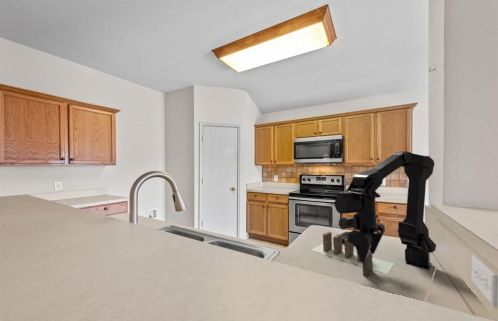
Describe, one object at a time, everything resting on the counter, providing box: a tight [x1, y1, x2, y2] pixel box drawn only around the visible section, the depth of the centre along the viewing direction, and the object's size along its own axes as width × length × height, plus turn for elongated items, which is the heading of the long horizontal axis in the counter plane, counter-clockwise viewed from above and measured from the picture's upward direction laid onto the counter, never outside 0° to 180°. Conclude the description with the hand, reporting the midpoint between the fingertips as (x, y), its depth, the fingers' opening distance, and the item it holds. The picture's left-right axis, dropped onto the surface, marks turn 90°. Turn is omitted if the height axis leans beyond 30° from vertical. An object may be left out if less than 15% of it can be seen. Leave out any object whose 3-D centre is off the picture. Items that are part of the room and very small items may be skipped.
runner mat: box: [311, 243, 395, 275], centre depth 82 cm, size 28×10×1 cm, turn 43°
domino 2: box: [332, 233, 343, 255], centre depth 86 cm, size 1×5×7 cm, turn 133°
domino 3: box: [343, 238, 355, 259], centre depth 83 cm, size 1×5×7 cm, turn 133°
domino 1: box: [322, 231, 333, 252], centre depth 89 cm, size 1×5×7 cm, turn 133°
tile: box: [362, 250, 374, 278], centre depth 69 cm, size 1×5×7 cm, turn 133°
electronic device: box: [341, 231, 350, 241], centre depth 101 cm, size 9×6×15 cm
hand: (367, 257), depth 70 cm, fingers open, 9 cm apart
